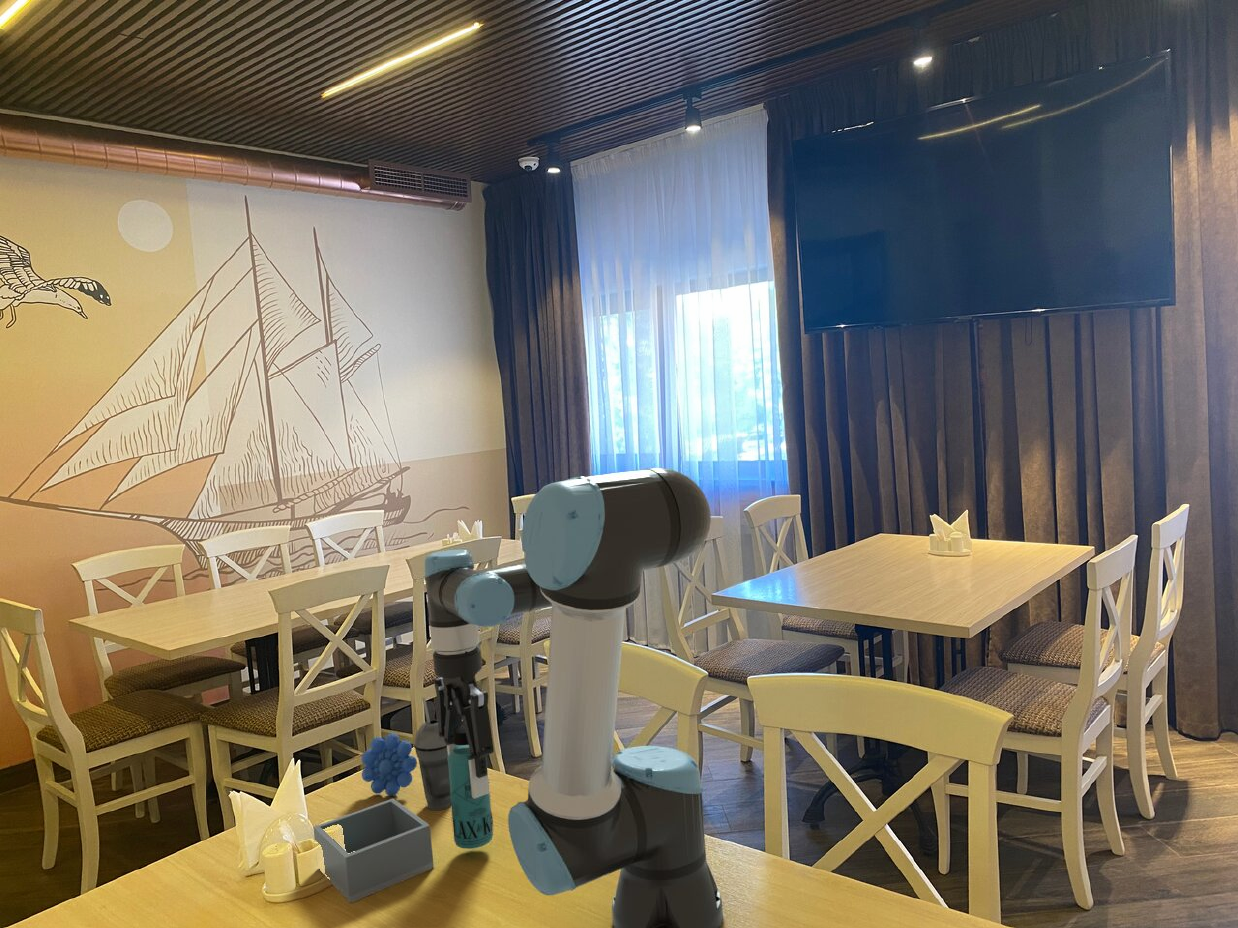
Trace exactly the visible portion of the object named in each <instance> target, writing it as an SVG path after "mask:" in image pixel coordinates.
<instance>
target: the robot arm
mask: <svg viewBox="0 0 1238 928" xmlns="http://www.w3.org/2000/svg"><path fill="white" fill-rule="evenodd" d="M708 501H709V500H708V499H707V497H706V495H705V493H704V492H703V490H702V489H701V488H700V487H699V485H698V484H697V483H696V481H694V480H693V479H691V478H690V477H689V476H687V475H685V474H683V473H682V472H679V471H676V470H674V469H671V468H669V469H668V468H664V467H663V468H662V467H651V468H644V469H639V470H632V471H631V470H630V471H623V472H614V473H608V474H607V473H606V474H600V475H592V476H582V475H581V476H574V477H570V478H567V479H566V480H561V481H557V482H552V483H548V484H546V485H544V486H543V487H542V488H541V489H540V490H539V491H538V492H536V493H535V494H534V495H533V497H532V499H530V502H529V504H528V506H527V509H526V511H525V514H524V518H523V523H522V530H521V532H522V533H521V548H522V549H521V550H522V552H524V553H525V554H524V555H525V556H524V559H523V560H524V562H522V563H521V562H520V563H515V564H510V565H505V566H499V567H494V568H493V567H492V568H488V569H487V568H486V569H482V570H476V569H474V568H475V564H474V561H473V556H472V554H471V552H470V551H468V550H466V549H449V550H448V549H447V550H441V551H436V552H432V553H430V554H429V555H426V557H425V559H424V582H425V588H426V597H427V607H428V616H429V617H428V618H429V632H430V633H429V634H430V642H431V649H432V650H434V652H433V653H432V660H433V661H432V662H433V670H434V675H435V676H436V677H437V678H434V680H433V684H434V689H435V692H436V694H435V695H436V708H437V712H436V713H437V720H438V732H439V736H440V737H444V741H445V743H446V744H447V752H448V755H449V754H450V753H451V752H452V751H453V749H455V748H456V747H458V746H461V745H455V744H453V730H454V729H455V728H456V727H459V726H462V724H463V725H464V728H465V732H466V736H467V740H468V744H469V748H470V752H471V755H470V756H467V758H468V760H469V770H470V781H471V792H472V798H474V799H475V798H478V797H480V796H483V795H486V794H488V793H489V792H490V783H488V781H489V780H488V779H489V774H488V772H487V771H488V763H487V762H488V761H486V759H487V756H488V755H491V754H494V752H495V750H494V741H493V737H492V728H491V720H490V714H489V713H490V712H489V706H488V705H489V694H488V691H487V690H484V691H480V690H479V687H478V684H477V680H476V675H477V674H478V673H479V672H480V671H481V670H482V668H483V661H482V650H481V647H480V646H479V644H480V631H479V627H485V628H488V627H489V628H490V627H496V626H498V625H500V624H502V623H503V622H504V621H505V620H507V619H508V618H509V617H513V616H515V615H516V616H517V615H520V614H525V613H528V612H529V613H530V612H533V611H536V610H541V609H542V610H543V609H547V608H551V612H550V613H551V615H550V629H549V644H548V645H549V647H548V663H547V665H548V666H547V682H546V695H545V713H544V714H545V715H544V725H543V726H544V730H543V744H542V747H543V748H542V761H541V765H540V766H538V767H537V768H536V769H535V770H534V771H533V773H532V774H531V777H530V778H529V781H528V794H527V800H525V801H518V802H517V803H516V804H515V805H513V806H512V807H511V808H510V810H509V811H508V816H507V817H508V818H507V820H508V821H507V822H508V823H507V824H508V830H509V831H508V832H509V837H510V839H511V841H510V842H511V844H512V846H513V850H514V852H515V856H516V857H517V861H518V863H519V865H520V867H521V870H522V871H523V873H524V874H525V876H526V878H527V880H528V881H529V882H530V884H531V885H532V886H533V887H534V889H536V890H537V892H538V893H541V894H543V895H545V896H555V895H559V894H562V893H565V892H567V891H568V892H569V891H574V890H576V888H577V889H578V888H579V887H581V886H584V885H587V884H589V883H591V882H594V881H596V880H598V879H601V878H602V877H605V876H607V875H610V874H612V873H615V872H616V871H619V870H620V871H619V875H618V881H617V885H616V891H615V893H614V896H613V899H612V902H611V913H612V914H611V915H612V916H611V917H612V925H613V928H721V925H722V924H723V919H724V912H723V901H722V899H723V898H722V896H721V893H720V891H719V889H718V886H717V884H716V881H715V878H714V876H713V874H712V871H711V867H710V866H709V864H708V860H707V853H706V838H705V837H706V836H705V824H704V823H705V821H704V809H703V807H704V806H703V792H704V791H703V790H704V789H703V786H702V778H701V773H700V766H699V765H698V763H697V761H696V760H695V759H694V757H692V756H691V755H690V754H688V753H686V752H684V751H682V750H680V749H676V748H672V747H667V746H662V745H661V746H660V745H638V746H632V747H626V748H624V749H621V750H619V751H617V753H616V754H615V755H614V757H613V749H614V741H615V740H614V739H615V730H616V729H615V727H616V718H617V717H616V716H617V707H618V697H619V696H618V693H619V683H620V682H619V681H620V673H621V672H620V671H621V661H622V651H623V640H624V639H623V638H624V626H625V617H626V616H625V615H626V609H627V608H629V607H630V606H632V605H633V604H635V603H636V602H637V601H638V600H639V598H640V592H641V583H642V576H643V573H644V571H648V570H653V569H657V568H660V567H665V566H670V565H672V564H675V563H678V562H681V561H684V560H685V559H687V558H690V557H691V556H693V554H695V553H697V551H699V550H700V548H701V547H702V546H703V544H704V543H705V540H706V539H707V538H708V534H709V531H710V528H711V523H712V522H711V521H712V520H711V519H712V517H711V509H710V505H709V502H708ZM444 727H445V729H444ZM486 755H487V756H486ZM612 768H613V770H612Z"/></svg>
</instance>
